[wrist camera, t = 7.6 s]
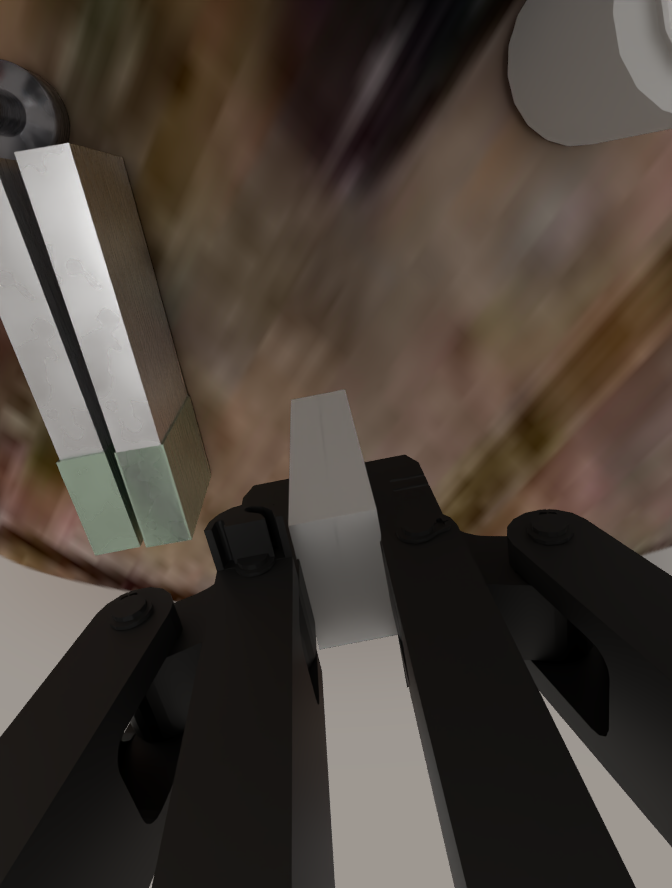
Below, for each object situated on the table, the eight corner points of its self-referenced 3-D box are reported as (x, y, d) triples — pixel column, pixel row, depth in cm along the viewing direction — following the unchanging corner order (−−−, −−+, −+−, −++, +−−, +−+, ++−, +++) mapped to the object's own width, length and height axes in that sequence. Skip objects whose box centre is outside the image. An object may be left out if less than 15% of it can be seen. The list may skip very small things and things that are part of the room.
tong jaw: (78, 164, 27) (10, 152, 20) (124, 157, 27) (71, 142, 21) (174, 481, 34) (146, 547, 27) (211, 475, 34) (191, 539, 27)
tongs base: (-37, 78, 26) (-183, 23, 18) (50, 60, 26) (-57, -2, 18) (118, 489, 34) (66, 575, 26) (184, 476, 34) (152, 558, 26)
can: (552, -75, 25) (758, -295, 14) (688, 9, 26) (970, -130, 15) (472, 107, 27) (593, 42, 16) (601, 174, 29) (790, 155, 18)
